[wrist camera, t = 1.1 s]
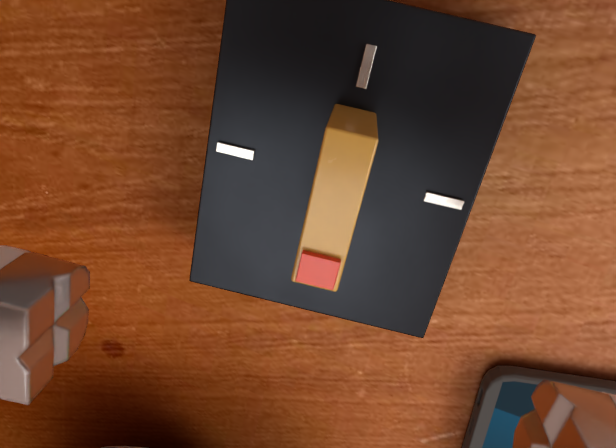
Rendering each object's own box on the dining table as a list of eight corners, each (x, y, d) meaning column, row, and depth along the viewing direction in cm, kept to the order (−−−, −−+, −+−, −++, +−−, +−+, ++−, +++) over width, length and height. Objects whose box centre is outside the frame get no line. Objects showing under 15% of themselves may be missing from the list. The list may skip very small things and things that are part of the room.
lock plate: (251, -29, 19) (229, -37, 16) (511, 31, 18) (538, 34, 16) (210, 250, 23) (187, 283, 21) (416, 301, 23) (423, 341, 20)
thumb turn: (334, 102, 17) (324, 127, 13) (377, 112, 17) (379, 141, 13) (305, 231, 19) (289, 285, 15) (343, 240, 19) (336, 297, 15)
